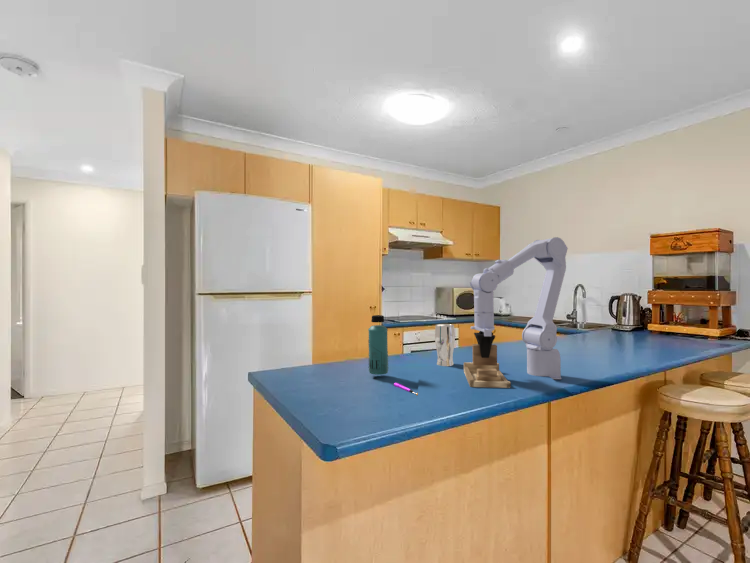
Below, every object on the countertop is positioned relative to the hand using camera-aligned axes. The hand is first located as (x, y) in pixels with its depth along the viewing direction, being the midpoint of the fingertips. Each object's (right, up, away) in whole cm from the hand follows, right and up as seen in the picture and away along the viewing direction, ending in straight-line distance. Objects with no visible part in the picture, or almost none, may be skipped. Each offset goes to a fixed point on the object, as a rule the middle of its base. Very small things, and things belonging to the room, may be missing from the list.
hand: (484, 356), depth 117 cm
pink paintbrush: (-23, -9, -10) cm, 26 cm away
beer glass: (-9, -8, +19) cm, 23 cm away
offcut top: (-1, -4, -7) cm, 8 cm away
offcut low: (-1, -7, -7) cm, 10 cm away
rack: (0, -8, -1) cm, 8 cm away
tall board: (0, -2, 0) cm, 2 cm away
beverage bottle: (-32, -8, +7) cm, 34 cm away
